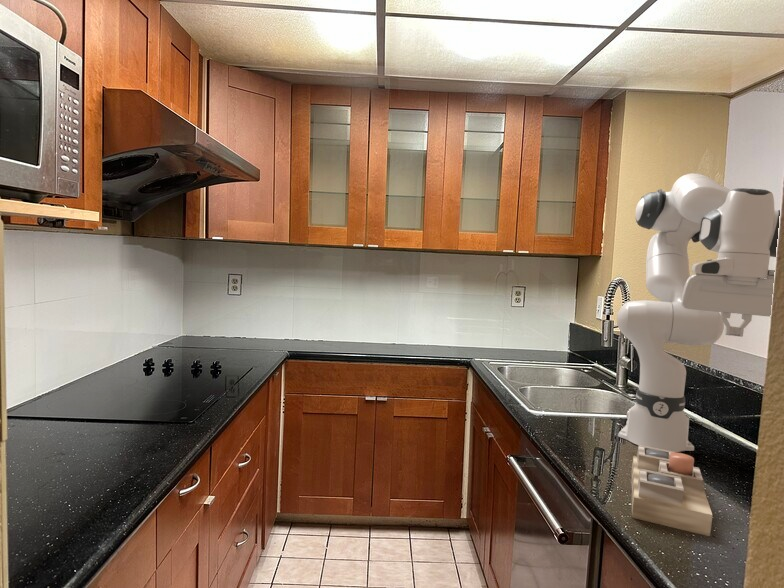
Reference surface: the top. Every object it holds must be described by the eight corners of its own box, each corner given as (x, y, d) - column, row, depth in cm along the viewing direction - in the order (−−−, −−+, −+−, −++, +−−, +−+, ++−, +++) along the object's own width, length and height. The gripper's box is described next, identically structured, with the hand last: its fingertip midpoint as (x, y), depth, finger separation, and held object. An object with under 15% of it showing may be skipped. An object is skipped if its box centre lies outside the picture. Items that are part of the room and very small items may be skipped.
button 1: (644, 460, 122) (645, 447, 122) (666, 464, 121) (667, 451, 120) (645, 467, 118) (646, 453, 118) (667, 471, 117) (668, 458, 116)
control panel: (631, 472, 126) (634, 443, 125) (694, 485, 121) (698, 455, 120) (631, 517, 103) (635, 482, 102) (709, 536, 98) (714, 499, 97)
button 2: (646, 486, 108) (648, 471, 108) (671, 491, 106) (672, 477, 106) (647, 494, 104) (648, 479, 103) (672, 500, 102) (674, 485, 102)
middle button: (667, 464, 113) (669, 450, 113) (691, 469, 111) (693, 455, 111) (669, 471, 109) (670, 457, 109) (693, 477, 107) (695, 462, 107)
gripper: (799, 272, 108) (790, 340, 109) (684, 264, 116) (677, 328, 117) (809, 272, 102) (799, 344, 103) (687, 264, 110) (679, 331, 111)
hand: (733, 335), depth 110 cm, fingers closed
